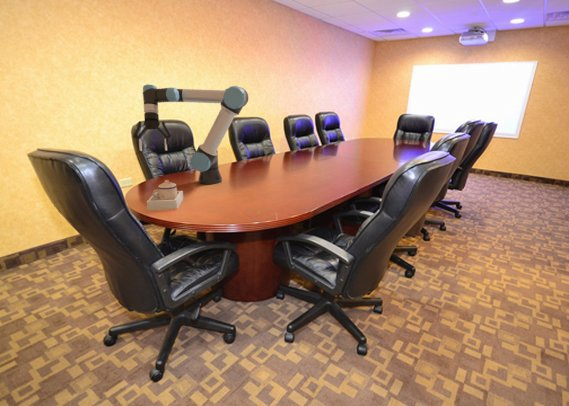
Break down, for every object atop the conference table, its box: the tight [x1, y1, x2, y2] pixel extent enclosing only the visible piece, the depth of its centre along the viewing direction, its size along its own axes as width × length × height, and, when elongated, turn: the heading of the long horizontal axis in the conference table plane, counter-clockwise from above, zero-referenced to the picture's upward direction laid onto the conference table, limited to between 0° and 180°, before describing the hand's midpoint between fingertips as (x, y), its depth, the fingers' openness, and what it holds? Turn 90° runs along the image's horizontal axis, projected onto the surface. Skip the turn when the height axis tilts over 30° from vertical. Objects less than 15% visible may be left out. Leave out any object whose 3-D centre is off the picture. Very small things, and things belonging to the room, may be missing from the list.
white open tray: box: [146, 190, 184, 211], centre depth 160 cm, size 14×17×4 cm
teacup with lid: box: [152, 179, 178, 200], centre depth 158 cm, size 12×9×12 cm
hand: (153, 150), depth 177 cm, fingers open, 13 cm apart
